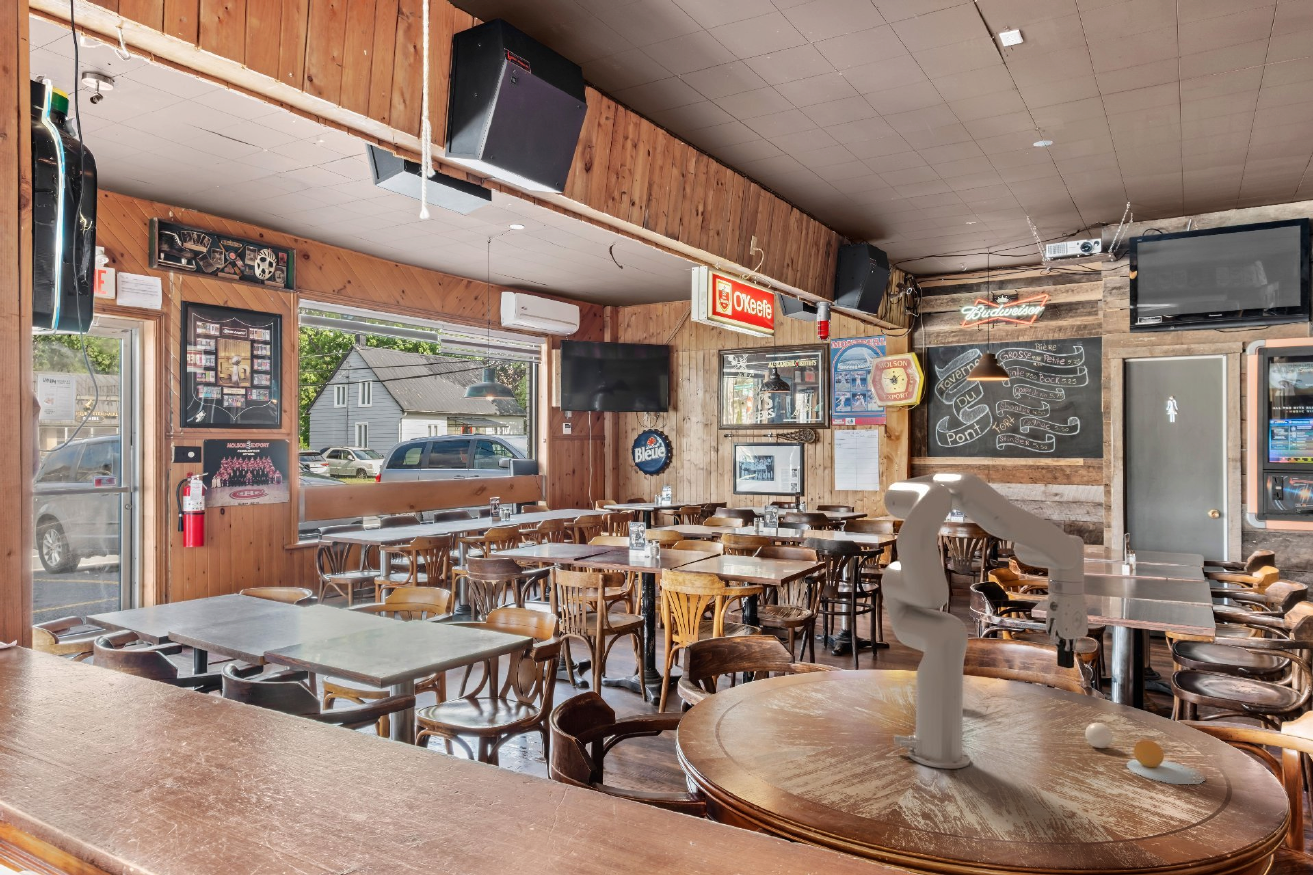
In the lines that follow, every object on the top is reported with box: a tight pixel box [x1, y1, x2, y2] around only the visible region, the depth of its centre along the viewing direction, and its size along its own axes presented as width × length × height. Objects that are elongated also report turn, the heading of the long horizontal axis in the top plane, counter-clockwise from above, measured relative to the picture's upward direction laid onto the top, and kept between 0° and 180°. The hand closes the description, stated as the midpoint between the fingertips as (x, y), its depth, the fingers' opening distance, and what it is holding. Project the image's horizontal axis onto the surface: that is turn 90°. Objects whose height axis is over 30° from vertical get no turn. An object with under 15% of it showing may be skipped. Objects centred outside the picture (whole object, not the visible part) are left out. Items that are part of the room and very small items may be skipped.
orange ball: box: [1133, 739, 1165, 767], centre depth 175 cm, size 6×6×6 cm
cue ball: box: [1084, 722, 1113, 749], centre depth 187 cm, size 6×6×6 cm
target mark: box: [1126, 758, 1206, 786], centre depth 172 cm, size 14×14×1 cm
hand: (1065, 666), depth 191 cm, fingers closed
